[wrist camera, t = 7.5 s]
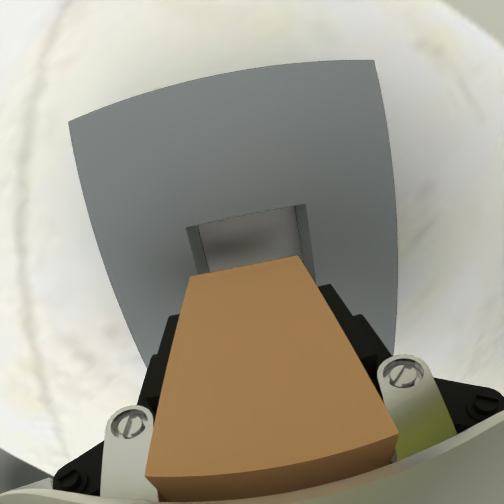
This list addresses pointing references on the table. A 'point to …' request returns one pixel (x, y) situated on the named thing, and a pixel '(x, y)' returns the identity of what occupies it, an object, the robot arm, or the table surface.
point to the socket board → (243, 183)
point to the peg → (263, 392)
